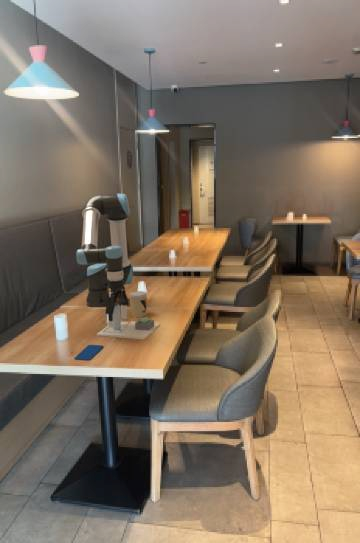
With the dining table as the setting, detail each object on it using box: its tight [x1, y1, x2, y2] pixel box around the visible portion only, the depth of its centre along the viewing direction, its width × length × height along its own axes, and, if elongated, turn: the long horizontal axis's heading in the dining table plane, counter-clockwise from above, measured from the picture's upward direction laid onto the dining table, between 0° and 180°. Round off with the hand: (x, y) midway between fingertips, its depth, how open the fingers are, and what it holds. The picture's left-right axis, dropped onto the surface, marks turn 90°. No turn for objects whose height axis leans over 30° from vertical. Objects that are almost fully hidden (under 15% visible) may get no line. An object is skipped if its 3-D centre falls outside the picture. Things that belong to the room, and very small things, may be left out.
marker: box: [113, 302, 121, 330], centre depth 214 cm, size 4×4×13 cm
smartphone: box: [73, 344, 104, 361], centre depth 190 cm, size 7×1×15 cm
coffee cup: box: [128, 290, 148, 318], centre depth 239 cm, size 9×9×12 cm
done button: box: [139, 316, 150, 323], centre depth 216 cm, size 4×4×3 cm
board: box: [96, 318, 160, 340], centre depth 216 cm, size 24×20×4 cm
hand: (118, 322), depth 215 cm, fingers open, 13 cm apart
